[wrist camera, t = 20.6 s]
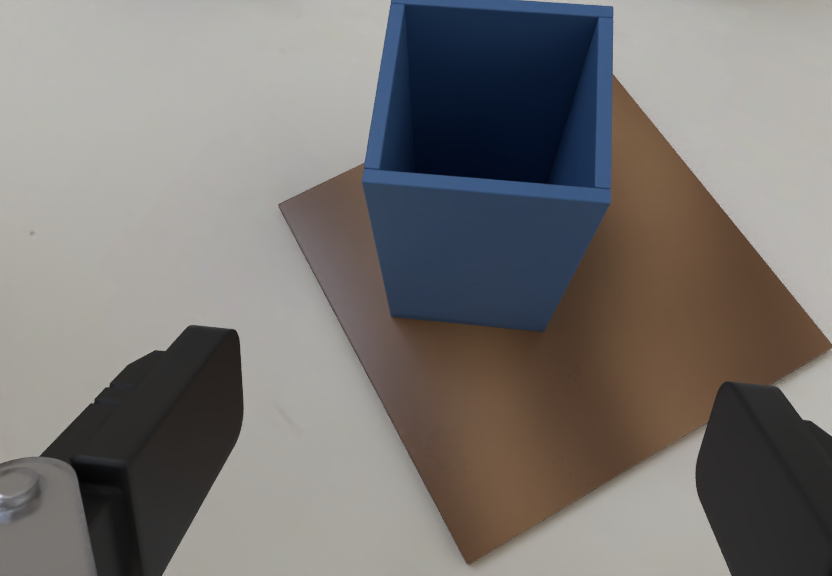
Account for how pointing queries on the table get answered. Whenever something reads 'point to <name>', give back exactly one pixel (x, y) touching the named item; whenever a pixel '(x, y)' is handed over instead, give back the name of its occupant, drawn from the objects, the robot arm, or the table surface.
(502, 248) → the blue bin
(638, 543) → the table surface
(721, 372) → the cork mat
